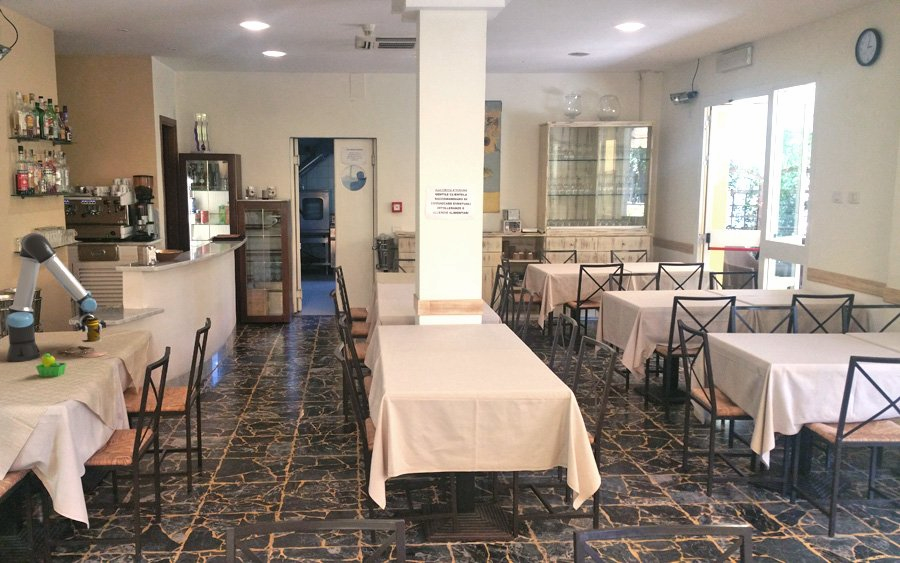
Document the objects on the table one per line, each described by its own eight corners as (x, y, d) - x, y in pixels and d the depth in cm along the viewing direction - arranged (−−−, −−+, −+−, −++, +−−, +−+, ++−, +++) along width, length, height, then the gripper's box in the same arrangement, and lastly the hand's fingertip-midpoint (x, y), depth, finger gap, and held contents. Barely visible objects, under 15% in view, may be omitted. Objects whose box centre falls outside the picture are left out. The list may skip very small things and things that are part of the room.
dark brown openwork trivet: (71, 356, 391) (71, 353, 390) (57, 353, 396) (56, 350, 396) (94, 350, 402) (94, 347, 402) (79, 348, 408) (79, 345, 408)
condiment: (102, 340, 391) (100, 318, 389) (85, 343, 385) (83, 320, 384) (98, 338, 396) (96, 316, 394) (81, 341, 391) (79, 318, 389)
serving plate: (91, 358, 384) (91, 357, 384) (76, 356, 390) (76, 354, 390) (111, 353, 395) (111, 352, 394) (96, 351, 400) (96, 350, 400)
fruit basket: (68, 373, 356) (66, 350, 355) (57, 378, 348) (55, 354, 346) (45, 373, 357) (43, 349, 355) (34, 378, 348) (31, 354, 347)
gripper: (108, 326, 411) (114, 333, 391) (69, 331, 401) (74, 338, 382) (107, 313, 410) (113, 319, 390) (68, 317, 400) (72, 324, 380)
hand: (93, 329), depth 386 cm, fingers closed on condiment, 6 cm apart
